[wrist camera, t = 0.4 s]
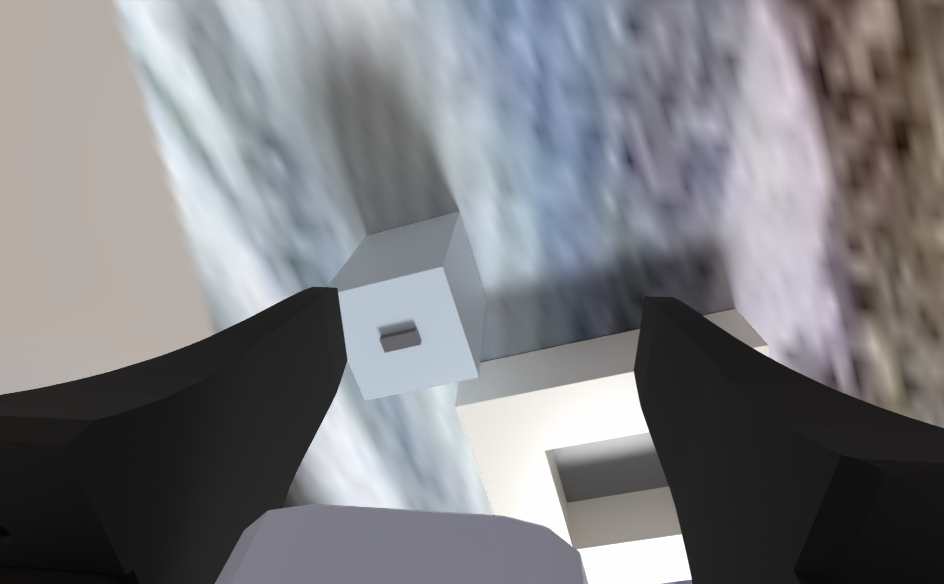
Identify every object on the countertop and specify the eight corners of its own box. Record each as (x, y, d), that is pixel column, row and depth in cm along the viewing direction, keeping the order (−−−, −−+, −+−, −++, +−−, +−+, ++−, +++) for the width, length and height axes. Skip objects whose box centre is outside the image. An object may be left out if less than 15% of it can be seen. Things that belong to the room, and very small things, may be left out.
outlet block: (523, 548, 28) (525, 600, 26) (461, 366, 24) (455, 406, 21) (754, 514, 26) (783, 567, 24) (735, 308, 22) (768, 344, 19)
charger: (398, 318, 23) (363, 405, 17) (367, 235, 22) (316, 300, 16) (485, 298, 22) (478, 381, 17) (459, 210, 21) (441, 269, 15)
